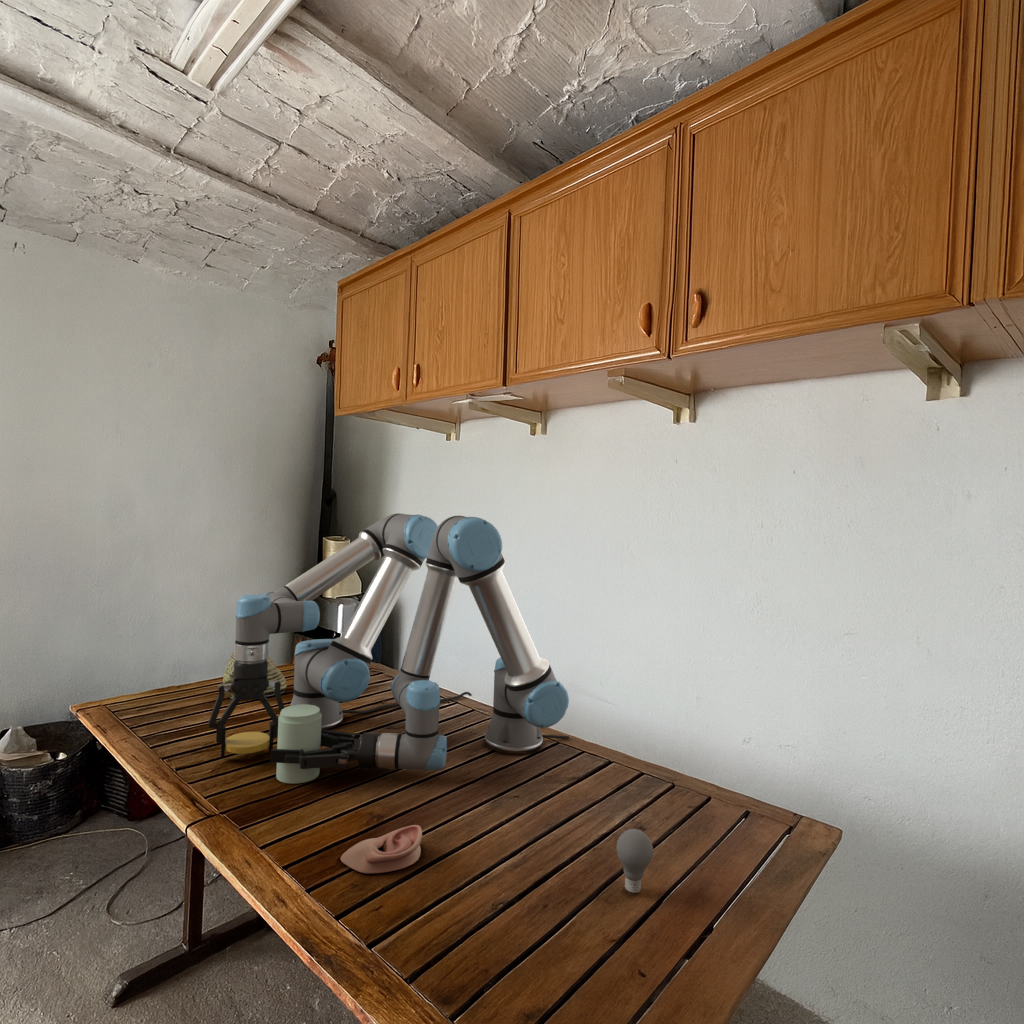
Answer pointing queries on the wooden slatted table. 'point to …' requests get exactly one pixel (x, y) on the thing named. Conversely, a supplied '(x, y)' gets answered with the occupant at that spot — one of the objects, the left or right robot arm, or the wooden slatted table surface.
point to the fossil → (272, 675)
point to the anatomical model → (385, 851)
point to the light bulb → (634, 857)
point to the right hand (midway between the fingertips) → (279, 746)
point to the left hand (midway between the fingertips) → (246, 752)
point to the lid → (247, 742)
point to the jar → (298, 740)
